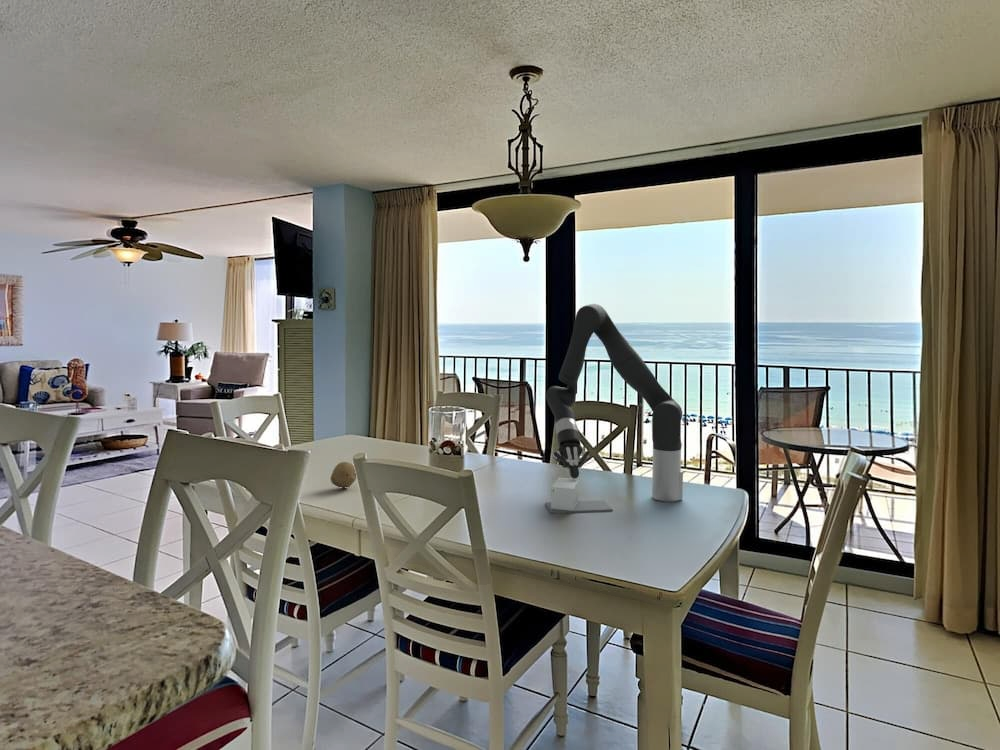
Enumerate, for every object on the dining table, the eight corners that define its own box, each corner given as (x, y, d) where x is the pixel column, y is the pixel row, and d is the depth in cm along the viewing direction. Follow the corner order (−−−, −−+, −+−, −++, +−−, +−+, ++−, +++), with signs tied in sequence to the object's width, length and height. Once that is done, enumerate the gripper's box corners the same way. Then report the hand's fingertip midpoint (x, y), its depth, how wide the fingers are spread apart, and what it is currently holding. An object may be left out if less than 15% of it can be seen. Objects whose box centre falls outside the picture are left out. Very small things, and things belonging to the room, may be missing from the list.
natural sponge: (361, 490, 217) (360, 462, 216) (337, 494, 212) (336, 466, 212) (352, 484, 225) (351, 458, 224) (328, 488, 220) (327, 461, 219)
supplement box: (557, 498, 203) (550, 509, 191) (558, 476, 203) (550, 486, 191) (579, 500, 201) (573, 511, 189) (580, 478, 201) (573, 488, 189)
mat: (604, 501, 201) (604, 500, 201) (612, 511, 191) (612, 509, 191) (545, 504, 199) (545, 502, 199) (550, 513, 189) (550, 511, 189)
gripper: (550, 428, 206) (557, 472, 195) (588, 427, 208) (596, 470, 197) (547, 440, 212) (554, 483, 201) (584, 439, 213) (592, 482, 202)
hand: (575, 477), depth 199 cm, fingers closed
